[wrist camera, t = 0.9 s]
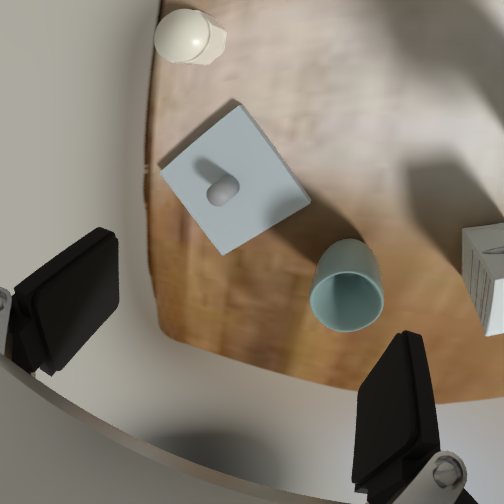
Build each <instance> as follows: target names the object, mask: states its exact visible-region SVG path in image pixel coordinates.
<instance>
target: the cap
mask: <svg viewBox="0 0 504 504" xmlns="http://www.w3.org/2000/svg"><path fill="white" fill-rule="evenodd" d="M226 34H227V31H226V30H225V29H224V28H223V27H222V25H221V24H220V23H219V22H218V21H217V20H216V19H215V18H214V17H212V16H210V15H208V14H206V13H203V12H201V11H199V10H191V9H178V10H175V11H173V12H171V13H169V14H168V15H166V16H165V17H164V18H163V19H162V20H161V21H160V23H159V24H158V26H157V28H156V31H155V35H154V44H155V48H156V50H157V52H158V53H159V55H160V56H161V57H163V58H164V59H166V60H168V61H169V62H170V63H180V64H190V65H209V64H210V63H211V62H212V61H213V60H215V59H216V58H217V57H218V56H219V55H221V54H222V53H223V52H224V49H225V41H226Z"/></svg>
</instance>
